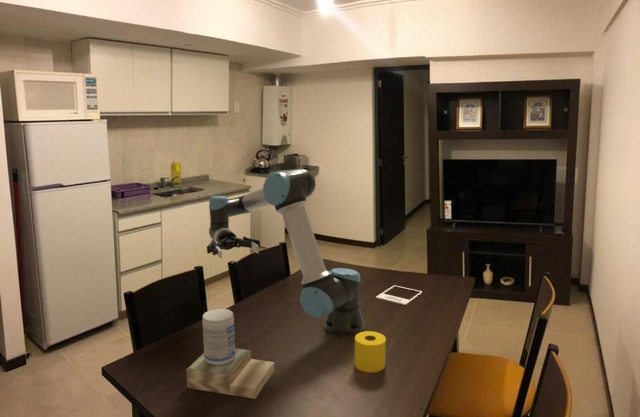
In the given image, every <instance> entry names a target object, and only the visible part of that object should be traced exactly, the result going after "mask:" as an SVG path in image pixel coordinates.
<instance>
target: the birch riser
mask: <svg viewBox="0 0 640 417" xmlns="http://www.w3.org/2000/svg"><path fill="white" fill-rule="evenodd" d="M185 370H186V384H187V388H188V389H193V390H199V391H205V392H211V393H217V394H223V395H229V396H237V397H242V398H246V399H254V400H256V398H257V397H258V395H259V394H260V392H261V391H262V390H263V388H264V387H265V385H267V383H268V380H269V379H270V378H271V377H272V375H273V374H274V372H275V362H274V361H268V360H260V359H253V358H252V350H250V349H242V348H237V347H235V358H234V359H233V360H232V361H231V362H229V363H227V364H223V365H211V364H209V363H207V362H206V361H205V358H204V352H203V353H202V354H201V355H200V356H199V357H198V358H197V359H196V360H194V361H193V363H192V364H191V365H189V366H188V367H187V369H185Z"/></svg>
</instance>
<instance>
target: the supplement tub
mask: <svg viewBox="0 0 640 417" xmlns="http://www.w3.org/2000/svg"><path fill="white" fill-rule="evenodd" d="M202 337H203V353H204V358H205V361H206V362H207V363H209V364H211V365H223V364H227V363H229V362H231V361H232V360H233V359H234V358H235V348H236V336H235V318H234V313H233V311H231V310H230V309H227V308H215V309H210V310H208V311H206V312H204V313H203V315H202Z"/></svg>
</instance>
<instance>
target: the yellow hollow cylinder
mask: <svg viewBox="0 0 640 417" xmlns="http://www.w3.org/2000/svg"><path fill="white" fill-rule="evenodd" d="M386 341H387V338H386V336H385V335H384V334H382V333H380V332H376V331H373V330H372V331H369V330H366V331H362V332H360V333H358V334H356V335H354V366H355V368H356V369H357V370H358V371H361V372H363V373H364V372H365V373H379V372H381V371H383V370H384V369H385V367H386V345H387V344H386V343H387V342H386Z"/></svg>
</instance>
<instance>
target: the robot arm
mask: <svg viewBox="0 0 640 417" xmlns="http://www.w3.org/2000/svg"><path fill="white" fill-rule="evenodd" d="M316 185H317V184H316V179H315V176H314V175H313V174H312V172H311V171H309V170H307V169H304V168H294V169H284V170H279V171H274V172H272V173H270V174H269V175H267V177H266V178H265V180H264V184H263V186H262V188H260V189H258V190H255V191H251V192H249V193H247V194H244V195H241V196H238V197H237V196H236V197H232V198H228V196H226V195H213V196H211V197H210V198H209V206H208V209H209V218H210V220H209V221H210V224H209V225H210V227H209V228H208V233H209V234H208V235H209V236H210V238H211V240H210V243H209V244H208V245H207V246H206V254H208V255H209V254H211V253H212V256H216V255H217V256H218V258H219V259H223V250H225V251H229V250H231V249H233V248H249V249H251V250H252V251H253V252H255V253H256V254H259V253H260V252H259V250H260V249H259V248H260V247H261V241H260V240H259V239H254V238H249V237H246V236H242V238H239V237H237V235H236V234H235V233H234V232H233V231H232V230H231V229H230V228H229V227H230V226H229V224H230V223H229V222H230V221H229V220H230V219H229V218H231V217H236V216H240V215H245V214H249V213H251V212H253V211H256V210H259V209H262V208H265V207H269V206H274V208H275V211H276V213H277V214H280V215H282V218H283V222H284V224H285V225H284V226H285V228H286V230H287V233H288V237H289V239H290V242H291V245H292V248H293V250H294V253H295V257H296V259H297V262H298V265H299V269H300V270H301V271H300V272H301V274H302V277H303V278H302V280H301V287H302V291H301V292H300V295H299V302H300V305H301V308H302V309H303V310H304V312H305V313H306V314H308V315H310V316H311V317H313V318H317V319H321V318H324V317H325V321H324V328H325V330H326V331H327V332H328V333H330V334H333V335H336V336H342V337H349V336H350V337H351V336H356V335H357V334H358V333H360V332H364V329H365V321H364V318H363V315H362V311H361V283H362V281H361V275H360V273H359V272H358V271H357V270H355V269H352V268H345V267H342V268H341V267H339V268H338V267H335V268H331V269H330V270H328V269H327V268H326V265H325V262H324V260H323V257H322V254H321V252H320V248H319V246H318V243H317V240H316V236H315V233H314V231H313V229H312V225H311V223H310V220H309V217H308V214H307V211H306V208H305V206H306V204H307V198H309V197H310V196H311V195H312V194H313V193H314V192H315V190H316Z"/></svg>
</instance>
